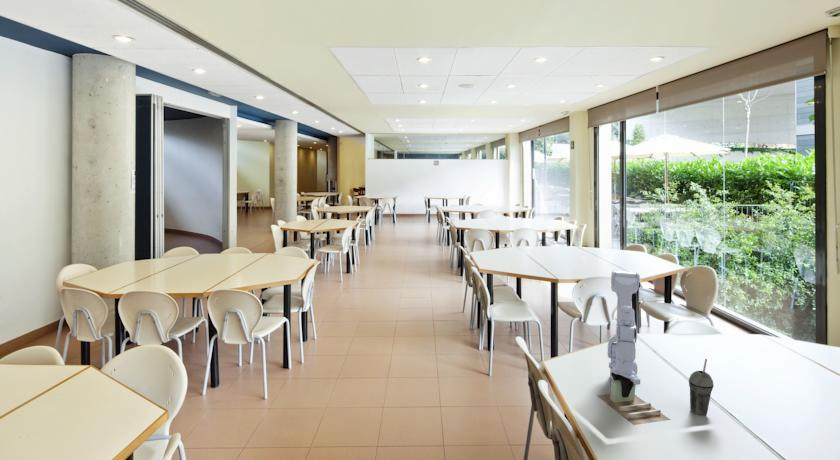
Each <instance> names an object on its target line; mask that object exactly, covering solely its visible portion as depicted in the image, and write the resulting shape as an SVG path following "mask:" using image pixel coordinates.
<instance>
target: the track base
mask: <svg viewBox="0 0 840 460" xmlns="http://www.w3.org/2000/svg"><path fill="white" fill-rule="evenodd" d="M596 396H597V398H599V399H601V400H602V401H603V402H604V403H605V404H607V405H608V406H609V407H611V408H612V409H613V410H614V411H616V412H617V413H618V414H619V415H621V416H622V417H623V418H625V419H626V420H627V421H629V422H630V423H631V424H632V425H634V426H636V425H641V424H647V423H648V424H649V423H655V422H657V423H658V422H663V421H670V420H671V418H670V417H668V416H667V415H665V414H664V413H662V412H661V409H656V407H655V408H654V407H653V406H652V403H651V402H646V401H645V400H643V399H642V398H640V397H639V396H637V395H636V394H635V399H634V400H633V401H625V402H617V403H614V402H613V401H612V400H610V397H611V393H605V394H597V395H596Z"/></svg>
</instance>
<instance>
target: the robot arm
mask: <svg viewBox="0 0 840 460" xmlns="http://www.w3.org/2000/svg"><path fill="white" fill-rule="evenodd" d="M610 276H611V278H610V286H611V287H610V288H611V289H610V290H611V291H612V292H614V293H615V294H616V297H617V305H616V329H615V334H614V335H612V336H610V337H609V338H608V342H607V358H608V359H610V362H608V368H609V379H610V380H611V381H615V380H620V382H621V386H622V397H623V398H625V397H629V394H630V391H631V389H632V387H633V386H634V384H635V386H638V385H641V378H640V377H639V376H638V364H637V363H636V361H635V360H636V351H637V350H636V343H637V339H638V329H637V324H636V318H635V313H636V312H635V310H634V308H633V307H632V300H633V299H632V298H633V294H637V291H638V290H639V287H640V273H639V271H638V272H633V271H621V270H620V271H617V270H613V271H612V272H611V275H610Z"/></svg>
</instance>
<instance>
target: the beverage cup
mask: <svg viewBox="0 0 840 460" xmlns="http://www.w3.org/2000/svg"><path fill="white" fill-rule="evenodd" d="M707 361H708V359H707V358H705V359H704V364H703V369H702V370H696V371H693V372H692V373H690V376H689V379H688V386H689V400H690V401H689V402H690V403H689V408H690V412H691V413H692V414H693V415H697V416H700V417H701V416H703V417H707V415H708V411H709V410H708V409H709V404H710V401H711V395H712V394H711V393H712V392H713V389H714V381H713V378H712V376H711V375H710V374H709V373H707V372H706V367H707Z"/></svg>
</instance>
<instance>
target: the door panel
mask: <svg viewBox="0 0 840 460" xmlns="http://www.w3.org/2000/svg"><path fill="white" fill-rule="evenodd" d="M610 383H611V384H610V394H611V397H610V400H612V401H613V402H614V403H617V402H625V401H633V400H634V399H635V395H636V385H635V384H634V386H633V387H632V389H631V391H630V394H629V397H625V398H623V397H622V386H621V382H620V380H615V381H613V380H611V381H610Z"/></svg>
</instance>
